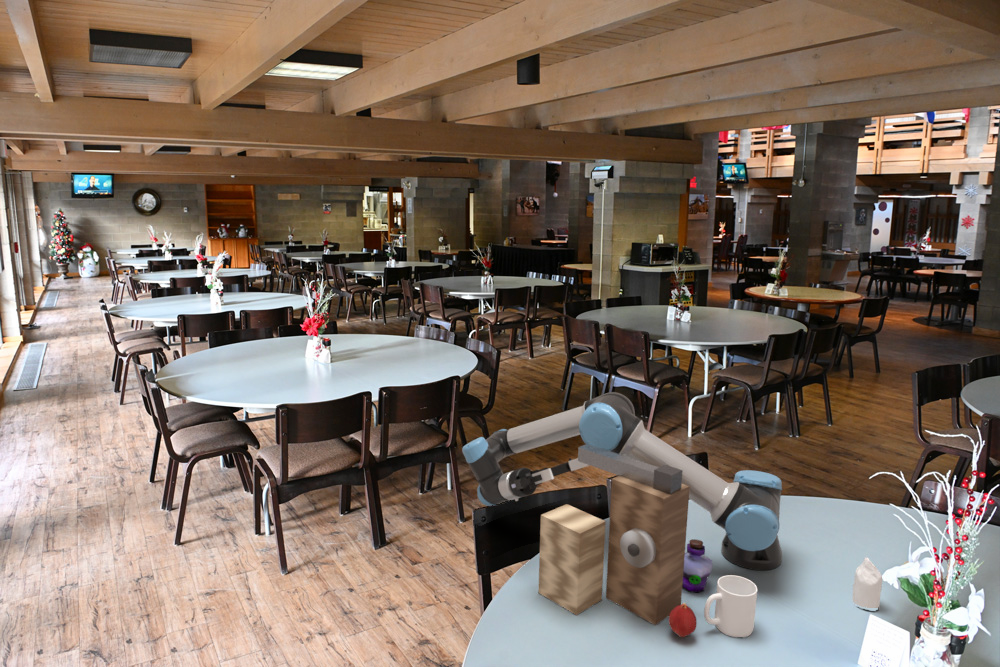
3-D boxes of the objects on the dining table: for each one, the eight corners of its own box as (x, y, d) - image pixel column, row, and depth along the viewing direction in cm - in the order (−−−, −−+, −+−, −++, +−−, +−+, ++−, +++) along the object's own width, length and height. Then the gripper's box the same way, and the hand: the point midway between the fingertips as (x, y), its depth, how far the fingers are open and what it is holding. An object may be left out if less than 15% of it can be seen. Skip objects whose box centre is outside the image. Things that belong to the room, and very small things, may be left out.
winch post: (680, 607, 157) (689, 486, 152) (646, 631, 148) (655, 502, 143) (631, 582, 167) (638, 467, 162) (597, 603, 159) (602, 482, 153)
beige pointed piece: (891, 562, 156) (873, 566, 154) (884, 609, 158) (867, 614, 156) (868, 550, 161) (851, 554, 159) (862, 595, 163) (845, 600, 161)
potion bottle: (683, 598, 161) (687, 551, 159) (669, 578, 170) (672, 534, 167) (717, 595, 163) (721, 549, 160) (701, 576, 171) (705, 531, 169)
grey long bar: (576, 461, 165) (577, 444, 164) (587, 456, 168) (588, 439, 167) (670, 494, 147) (671, 475, 146) (681, 489, 150) (682, 470, 149)
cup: (761, 634, 148) (765, 592, 146) (714, 644, 144) (717, 601, 142) (737, 613, 156) (741, 572, 154) (692, 621, 152) (695, 580, 150)
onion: (664, 628, 150) (666, 595, 148) (689, 627, 150) (692, 594, 149) (672, 645, 144) (675, 611, 142) (699, 644, 144) (702, 610, 143)
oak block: (601, 600, 160) (605, 521, 156) (576, 615, 154) (579, 533, 150) (563, 579, 168) (566, 503, 165) (538, 592, 162) (540, 514, 159)
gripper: (554, 485, 194) (606, 469, 179) (488, 510, 178) (540, 494, 162) (545, 459, 196) (596, 441, 180) (479, 482, 179) (529, 464, 164)
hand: (569, 466), depth 171 cm, fingers open, 13 cm apart
